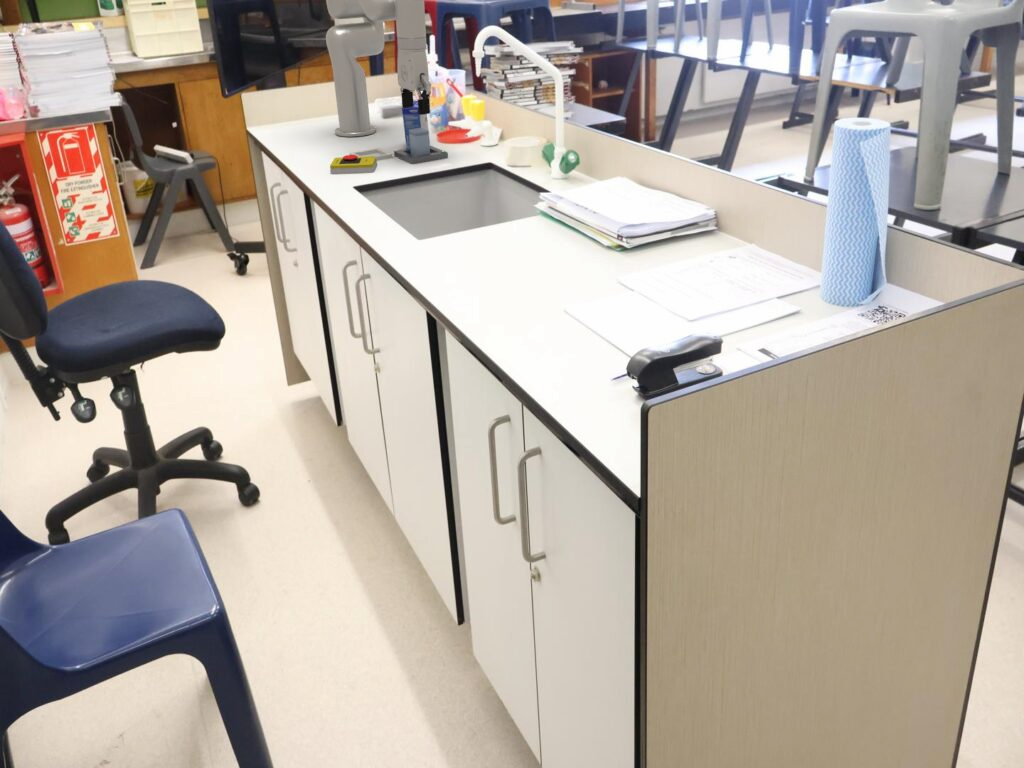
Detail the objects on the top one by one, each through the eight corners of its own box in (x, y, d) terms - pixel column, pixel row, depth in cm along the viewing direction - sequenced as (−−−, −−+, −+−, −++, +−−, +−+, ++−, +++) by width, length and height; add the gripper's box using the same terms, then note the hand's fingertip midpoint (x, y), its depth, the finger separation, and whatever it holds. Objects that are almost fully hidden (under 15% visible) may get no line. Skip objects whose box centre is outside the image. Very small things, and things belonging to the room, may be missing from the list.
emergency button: (328, 153, 244) (384, 151, 244) (330, 169, 246) (385, 167, 246) (322, 161, 236) (380, 159, 236) (325, 178, 238) (382, 176, 238)
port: (394, 158, 253) (393, 149, 251) (429, 152, 258) (429, 144, 256) (412, 166, 244) (411, 157, 243) (448, 159, 249) (447, 151, 248)
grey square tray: (349, 158, 254) (349, 152, 253) (379, 153, 258) (378, 148, 257) (362, 164, 247) (362, 159, 247) (392, 159, 251) (392, 154, 251)
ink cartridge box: (411, 142, 269) (407, 92, 262) (430, 142, 268) (426, 91, 262) (404, 150, 260) (400, 98, 253) (423, 150, 260) (420, 98, 253)
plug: (411, 158, 252) (408, 129, 248) (424, 156, 253) (422, 127, 250) (417, 161, 248) (415, 132, 245) (430, 159, 250) (428, 129, 247)
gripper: (384, 40, 242) (389, 106, 250) (414, 50, 229) (418, 118, 237) (410, 38, 245) (414, 103, 254) (440, 47, 232) (443, 114, 241)
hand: (416, 110), depth 245 cm, fingers open, 9 cm apart
